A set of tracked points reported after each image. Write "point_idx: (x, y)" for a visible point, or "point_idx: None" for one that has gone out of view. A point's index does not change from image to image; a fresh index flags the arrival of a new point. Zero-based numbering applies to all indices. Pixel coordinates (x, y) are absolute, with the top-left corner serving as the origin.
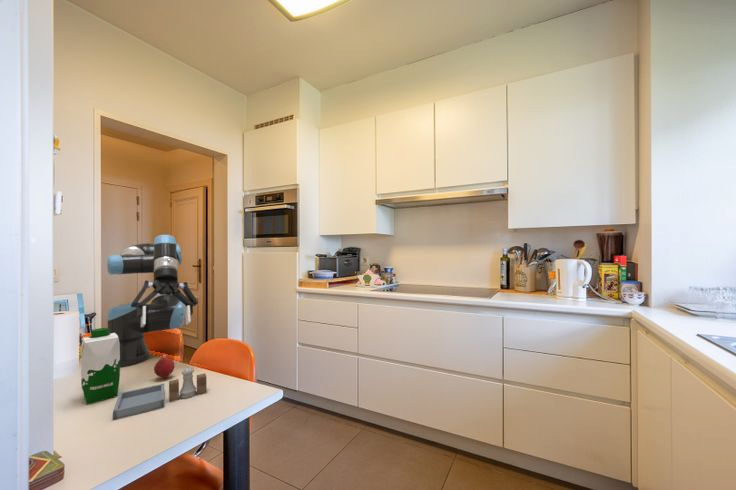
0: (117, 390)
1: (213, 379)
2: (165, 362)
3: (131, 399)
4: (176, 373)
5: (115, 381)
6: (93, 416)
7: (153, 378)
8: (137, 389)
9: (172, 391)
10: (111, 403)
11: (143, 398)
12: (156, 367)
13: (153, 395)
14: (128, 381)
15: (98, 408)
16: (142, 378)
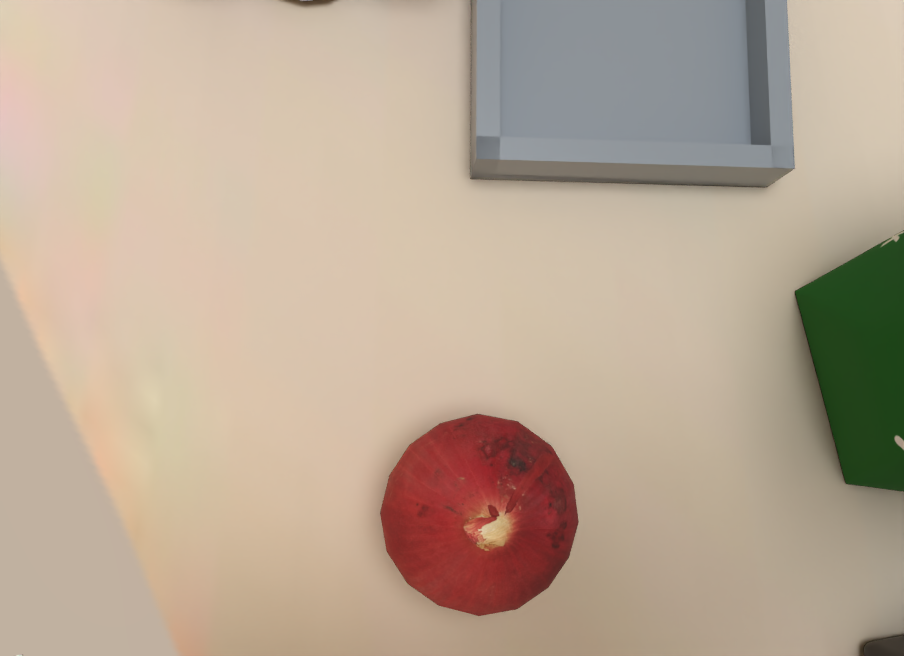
0: (817, 292)
1: (75, 170)
2: (476, 448)
3: (689, 99)
4: (362, 589)
5: (876, 267)
6: (876, 6)
7: (561, 577)
8: (672, 156)
9: None
10: (810, 168)
11: (610, 59)
12: (558, 462)
13: (546, 72)
14: (763, 642)
15: (875, 129)
16: (654, 649)
